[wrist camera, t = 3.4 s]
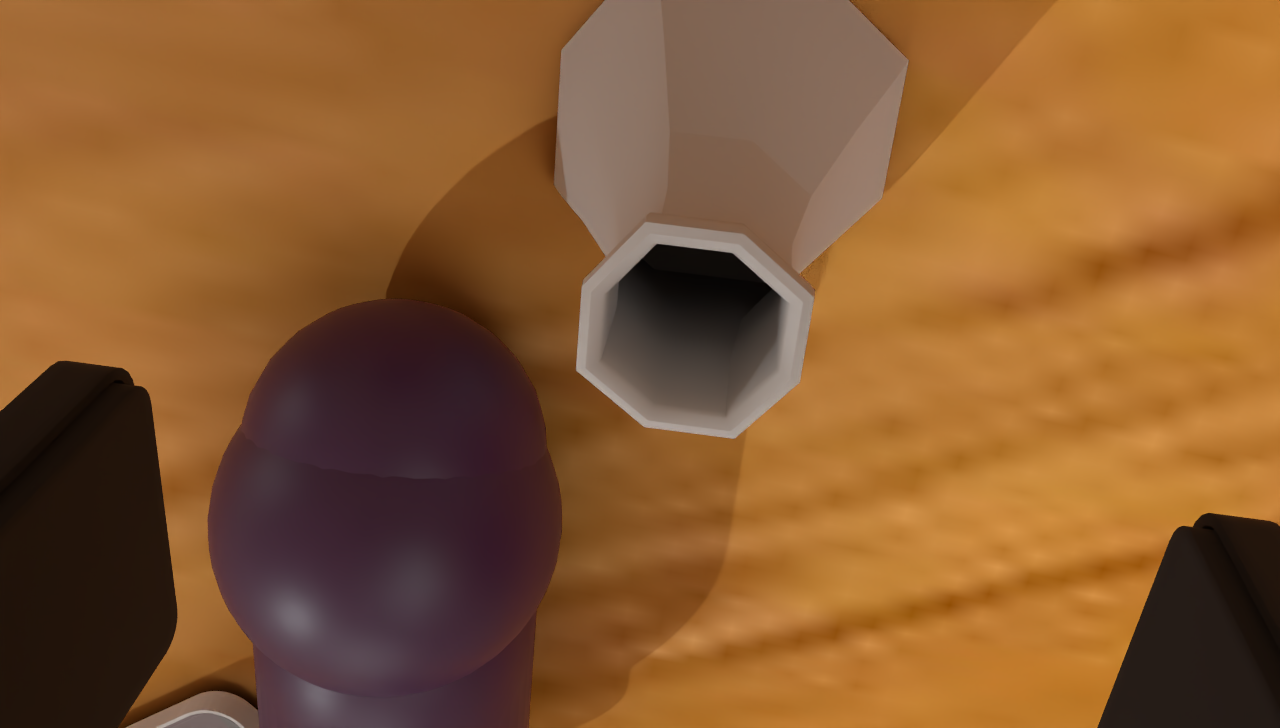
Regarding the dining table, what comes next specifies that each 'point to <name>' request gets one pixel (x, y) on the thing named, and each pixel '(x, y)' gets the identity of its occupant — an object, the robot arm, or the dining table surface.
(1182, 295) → the dining table surface
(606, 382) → the flask
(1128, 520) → the dining table surface
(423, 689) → the aubergine
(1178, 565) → the robot arm
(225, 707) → the smartphone
